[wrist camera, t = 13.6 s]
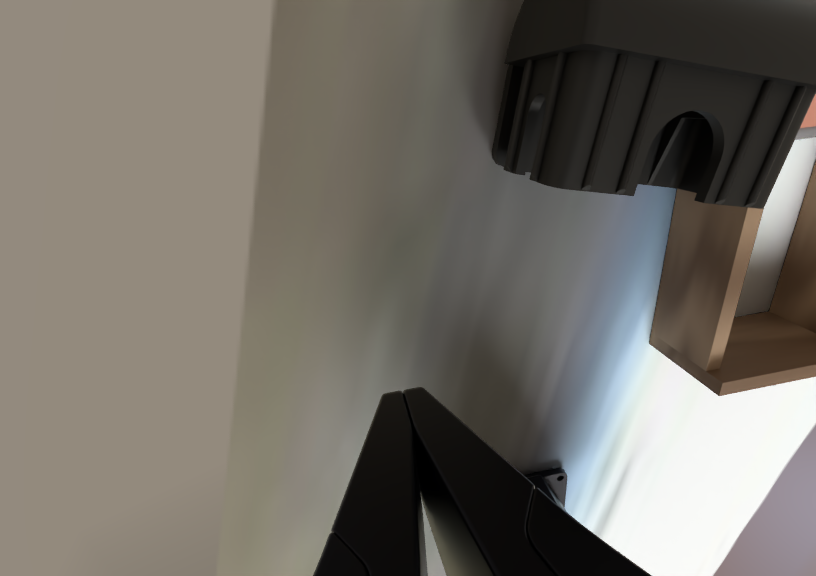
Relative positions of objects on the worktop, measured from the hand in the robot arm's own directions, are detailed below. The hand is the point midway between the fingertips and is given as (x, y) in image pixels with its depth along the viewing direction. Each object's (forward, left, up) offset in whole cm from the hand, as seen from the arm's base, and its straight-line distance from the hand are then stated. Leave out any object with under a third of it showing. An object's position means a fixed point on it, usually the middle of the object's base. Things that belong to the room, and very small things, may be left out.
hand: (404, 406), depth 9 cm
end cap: (+5, -11, -12) cm, 18 cm away
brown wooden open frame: (-3, -21, -12) cm, 24 cm away
